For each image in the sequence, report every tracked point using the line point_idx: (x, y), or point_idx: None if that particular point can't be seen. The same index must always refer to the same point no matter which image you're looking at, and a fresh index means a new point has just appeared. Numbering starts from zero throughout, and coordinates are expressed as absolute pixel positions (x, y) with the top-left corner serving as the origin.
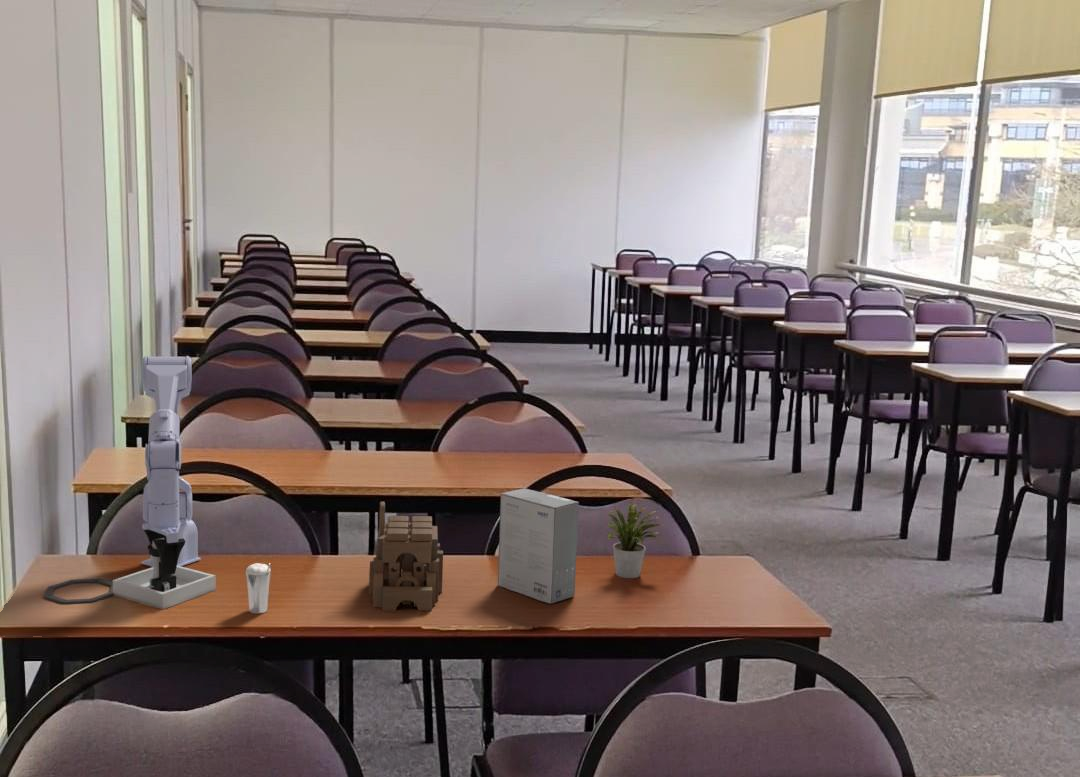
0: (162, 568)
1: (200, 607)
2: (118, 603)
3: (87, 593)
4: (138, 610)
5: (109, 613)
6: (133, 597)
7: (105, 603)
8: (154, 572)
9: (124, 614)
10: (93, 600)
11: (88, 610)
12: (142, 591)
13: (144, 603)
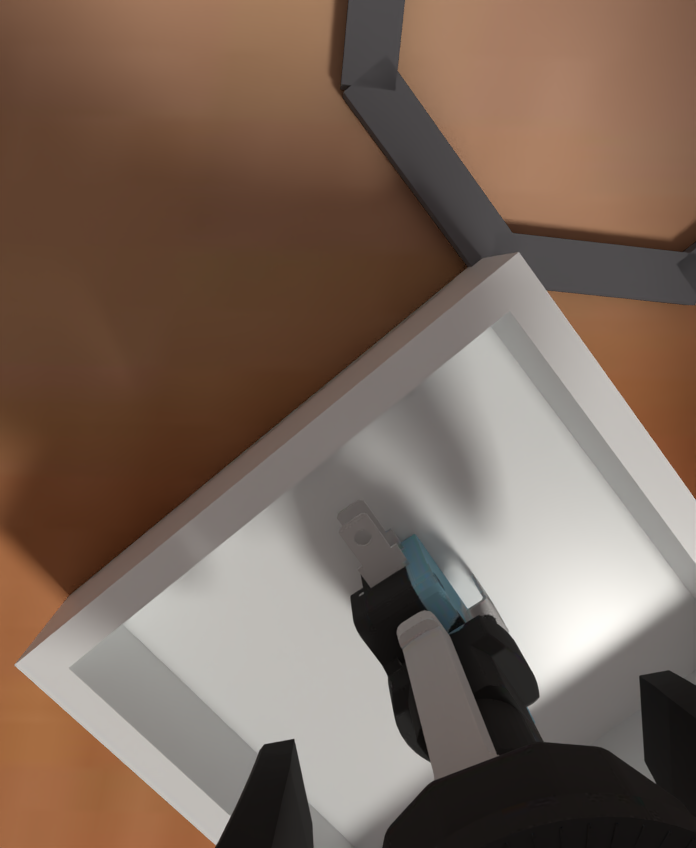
0: (245, 791)
1: (72, 811)
2: (271, 296)
3: (583, 51)
4: (81, 436)
5: (48, 221)
6: (296, 413)
7: (295, 195)
8: (426, 652)
9: (7, 335)
10: (343, 92)
11: (151, 49)
12: (204, 502)
13: (208, 482)
